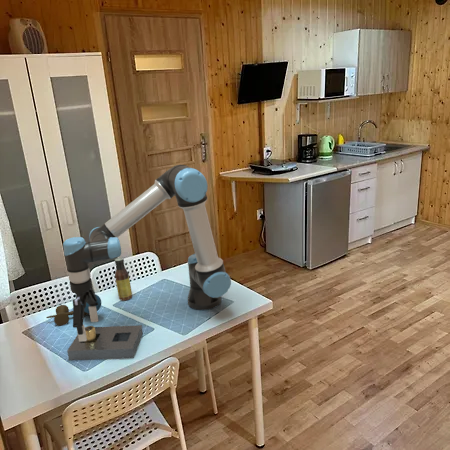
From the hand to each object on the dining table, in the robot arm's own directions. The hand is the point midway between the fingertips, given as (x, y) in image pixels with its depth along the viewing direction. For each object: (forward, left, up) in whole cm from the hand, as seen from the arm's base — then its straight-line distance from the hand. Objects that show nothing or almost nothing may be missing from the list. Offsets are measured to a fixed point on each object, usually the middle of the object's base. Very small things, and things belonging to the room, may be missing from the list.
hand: (89, 330), depth 162 cm
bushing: (0, 0, -7) cm, 7 cm away
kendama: (+16, -23, -8) cm, 29 cm away
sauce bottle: (-3, -40, -7) cm, 41 cm away
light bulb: (+6, -21, -7) cm, 23 cm away
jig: (-6, 0, -7) cm, 9 cm away
